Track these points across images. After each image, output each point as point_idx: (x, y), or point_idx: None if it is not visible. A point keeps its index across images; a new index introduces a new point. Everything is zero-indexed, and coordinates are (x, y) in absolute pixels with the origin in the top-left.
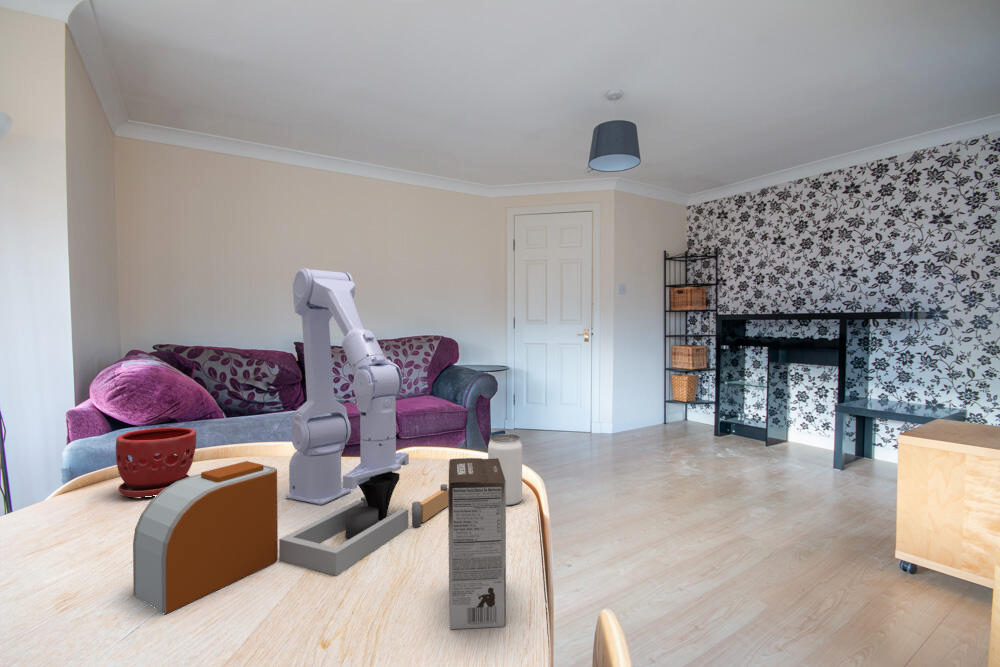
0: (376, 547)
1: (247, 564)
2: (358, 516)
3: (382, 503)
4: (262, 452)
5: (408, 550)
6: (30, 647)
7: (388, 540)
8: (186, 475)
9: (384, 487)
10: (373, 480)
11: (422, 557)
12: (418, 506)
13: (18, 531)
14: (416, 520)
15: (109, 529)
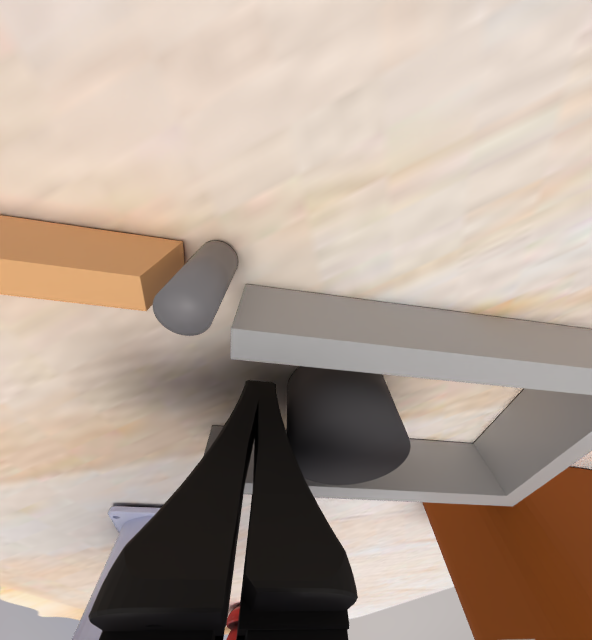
0: (439, 311)
1: (557, 485)
2: (393, 448)
3: (284, 440)
4: (80, 615)
5: (457, 180)
6: None
7: (373, 301)
8: (230, 623)
9: (313, 542)
10: (334, 633)
11: (549, 54)
12: (200, 283)
13: (383, 607)
14: (229, 261)
15: (371, 587)
